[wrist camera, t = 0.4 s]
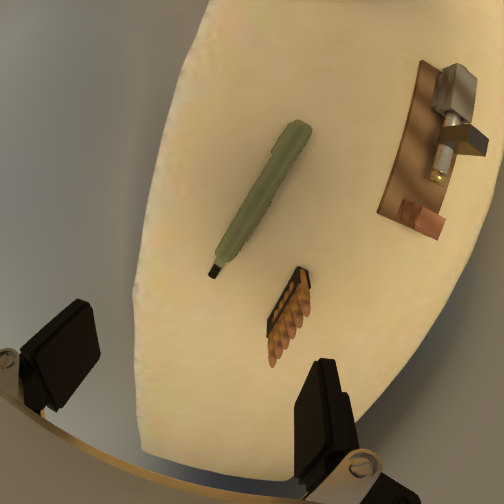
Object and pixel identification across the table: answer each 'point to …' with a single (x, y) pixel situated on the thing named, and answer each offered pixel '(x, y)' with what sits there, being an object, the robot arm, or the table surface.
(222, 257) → the handheld radio
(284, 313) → the ammunition clip
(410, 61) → the table surface
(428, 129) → the tube stand
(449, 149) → the tube
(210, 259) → the table surface
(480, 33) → the table surface
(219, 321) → the table surface
